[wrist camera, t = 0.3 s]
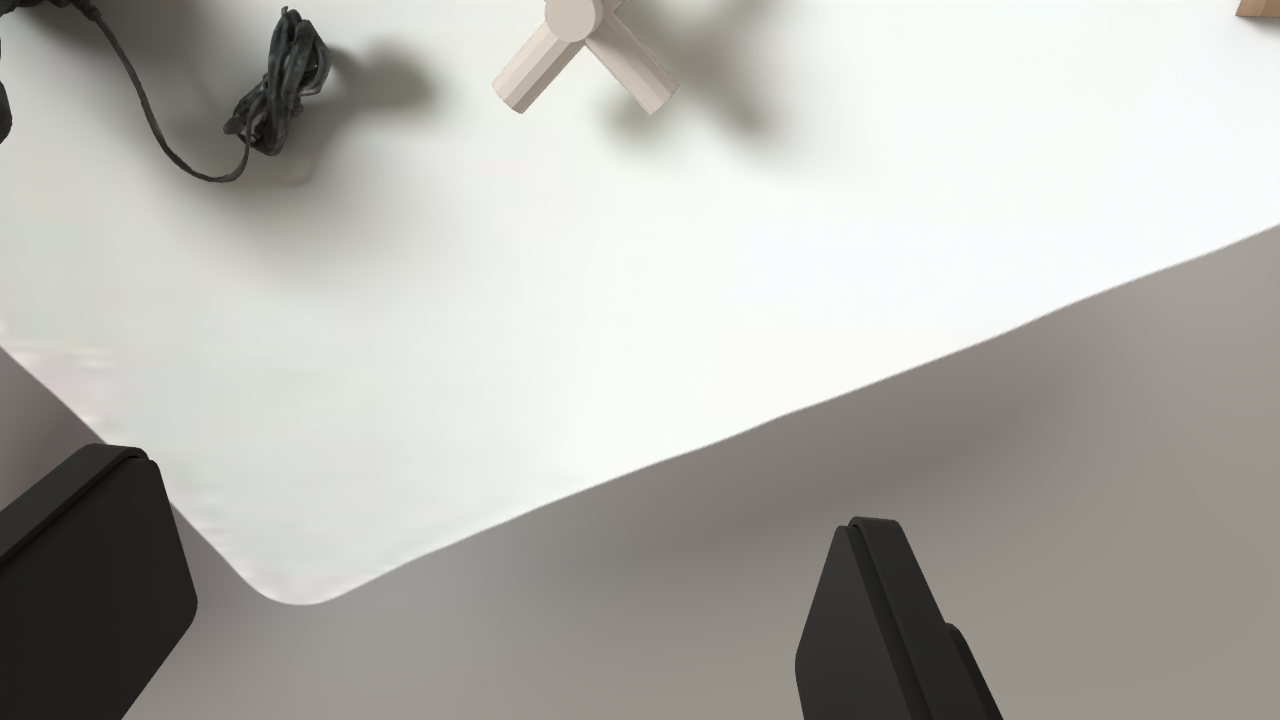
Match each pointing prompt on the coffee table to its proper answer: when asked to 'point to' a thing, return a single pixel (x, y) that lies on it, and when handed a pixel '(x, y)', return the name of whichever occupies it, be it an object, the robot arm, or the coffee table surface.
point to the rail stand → (1259, 8)
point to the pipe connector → (572, 21)
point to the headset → (257, 113)
